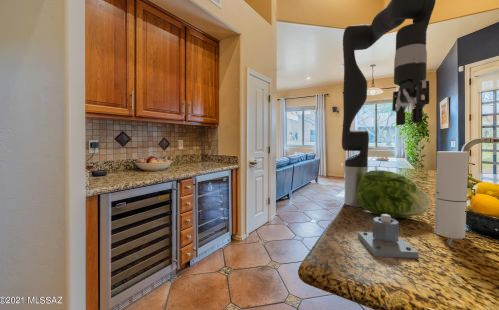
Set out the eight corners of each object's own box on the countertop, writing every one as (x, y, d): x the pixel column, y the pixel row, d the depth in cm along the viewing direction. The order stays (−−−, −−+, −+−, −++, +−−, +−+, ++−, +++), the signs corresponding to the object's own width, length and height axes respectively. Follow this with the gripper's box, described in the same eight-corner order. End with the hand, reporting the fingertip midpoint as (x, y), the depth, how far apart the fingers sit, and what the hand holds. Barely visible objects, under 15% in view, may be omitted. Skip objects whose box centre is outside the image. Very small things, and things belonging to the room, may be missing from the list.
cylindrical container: (456, 231, 75) (459, 151, 73) (471, 240, 68) (474, 152, 67) (430, 228, 77) (432, 151, 75) (441, 237, 70) (444, 152, 69)
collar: (370, 234, 67) (370, 216, 67) (391, 235, 67) (391, 217, 66) (378, 242, 62) (378, 223, 61) (401, 243, 61) (402, 224, 61)
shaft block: (358, 237, 71) (358, 208, 70) (394, 238, 69) (394, 209, 69) (374, 256, 59) (375, 222, 58) (418, 258, 58) (419, 223, 57)
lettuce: (426, 231, 76) (438, 178, 76) (349, 208, 89) (359, 163, 89) (422, 226, 90) (432, 181, 90) (356, 207, 103) (365, 168, 103)
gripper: (384, 73, 74) (383, 125, 75) (409, 57, 60) (407, 122, 61) (410, 72, 73) (408, 125, 74) (442, 55, 59) (439, 121, 60)
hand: (408, 123), depth 67 cm, fingers open, 8 cm apart
